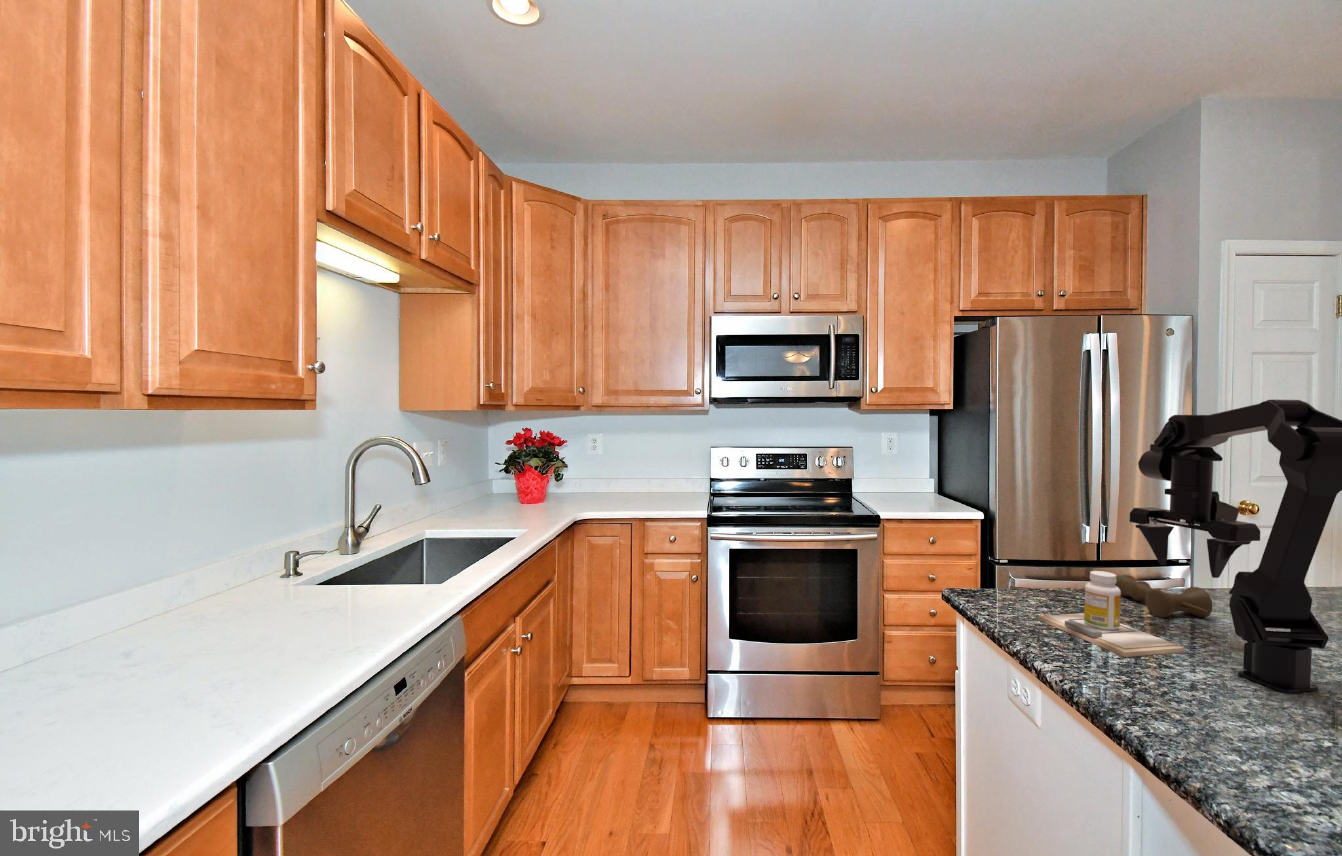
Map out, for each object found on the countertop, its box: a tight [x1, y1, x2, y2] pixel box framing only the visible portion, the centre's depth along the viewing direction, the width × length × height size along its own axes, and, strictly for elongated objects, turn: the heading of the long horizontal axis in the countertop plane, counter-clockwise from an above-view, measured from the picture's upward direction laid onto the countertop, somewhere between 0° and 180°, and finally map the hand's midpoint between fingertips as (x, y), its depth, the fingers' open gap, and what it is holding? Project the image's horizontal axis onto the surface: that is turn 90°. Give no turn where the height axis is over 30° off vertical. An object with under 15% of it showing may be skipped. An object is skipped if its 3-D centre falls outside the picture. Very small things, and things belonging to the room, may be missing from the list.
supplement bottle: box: [1083, 570, 1122, 630], centre depth 112 cm, size 5×5×10 cm
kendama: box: [1115, 574, 1213, 619], centre depth 125 cm, size 6×10×20 cm
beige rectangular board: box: [1038, 612, 1185, 658], centre depth 110 cm, size 18×12×2 cm, turn 11°
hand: (1188, 570), depth 110 cm, fingers open, 9 cm apart
